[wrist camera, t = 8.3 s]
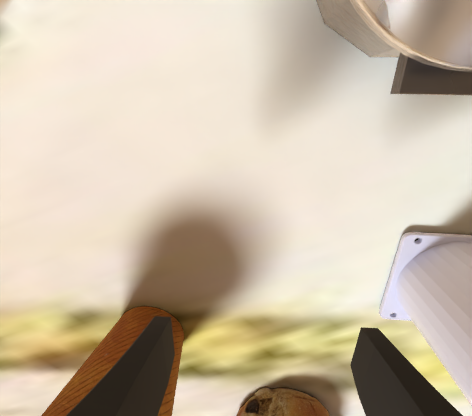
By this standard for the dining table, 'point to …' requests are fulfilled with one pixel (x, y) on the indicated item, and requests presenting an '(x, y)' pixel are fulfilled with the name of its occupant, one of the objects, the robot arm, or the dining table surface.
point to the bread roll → (282, 404)
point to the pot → (393, 55)
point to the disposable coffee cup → (111, 353)
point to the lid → (423, 29)
